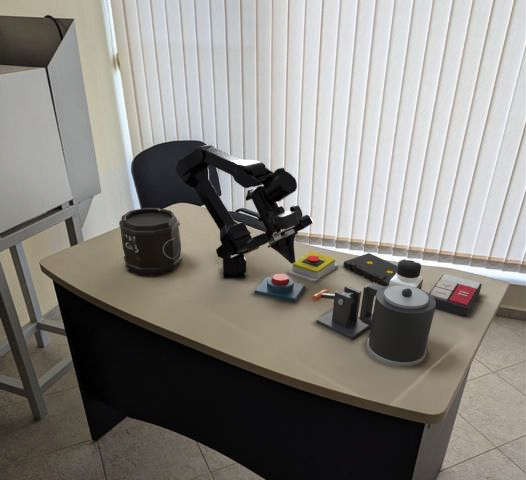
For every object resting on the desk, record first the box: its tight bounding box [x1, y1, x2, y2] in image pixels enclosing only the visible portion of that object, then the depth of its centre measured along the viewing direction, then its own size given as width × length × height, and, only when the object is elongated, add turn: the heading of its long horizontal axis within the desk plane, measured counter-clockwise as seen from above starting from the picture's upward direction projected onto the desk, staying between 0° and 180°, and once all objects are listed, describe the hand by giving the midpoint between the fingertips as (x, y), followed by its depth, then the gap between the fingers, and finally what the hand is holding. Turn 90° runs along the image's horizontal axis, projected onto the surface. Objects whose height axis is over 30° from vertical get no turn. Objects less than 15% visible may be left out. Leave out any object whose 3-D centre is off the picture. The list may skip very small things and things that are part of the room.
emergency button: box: [289, 251, 339, 282], centre depth 152 cm, size 9×4×15 cm
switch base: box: [315, 285, 371, 341], centre depth 123 cm, size 11×9×10 cm
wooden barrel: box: [118, 207, 183, 277], centre depth 150 cm, size 18×18×16 cm
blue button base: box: [253, 275, 306, 303], centre depth 139 cm, size 12×9×4 cm
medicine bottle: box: [389, 258, 424, 289], centre depth 134 cm, size 7×7×12 cm
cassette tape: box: [343, 252, 398, 287], centre depth 151 cm, size 18×12×2 cm, turn 37°
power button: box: [272, 272, 289, 285], centre depth 138 cm, size 4×4×2 cm
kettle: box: [359, 282, 436, 367], centre depth 114 cm, size 17×14×16 cm
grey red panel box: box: [428, 273, 483, 318], centre depth 137 cm, size 11×4×15 cm
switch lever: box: [311, 288, 355, 304], centre depth 124 cm, size 11×5×2 cm, turn 46°
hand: (293, 262), depth 130 cm, fingers closed
